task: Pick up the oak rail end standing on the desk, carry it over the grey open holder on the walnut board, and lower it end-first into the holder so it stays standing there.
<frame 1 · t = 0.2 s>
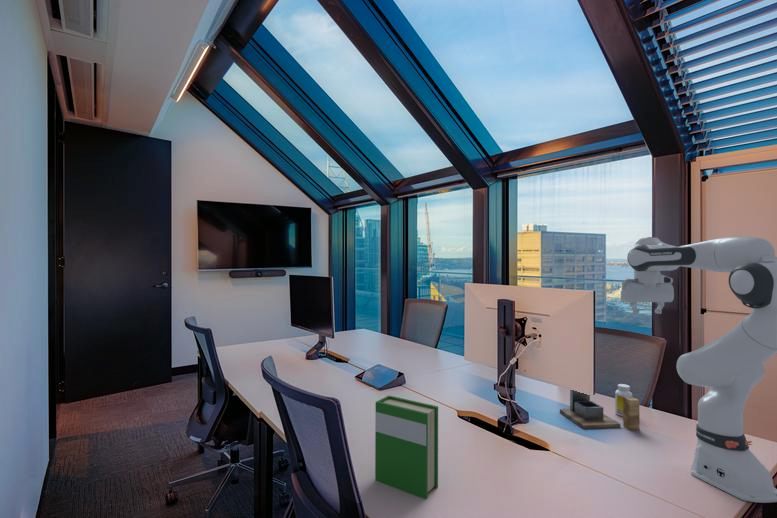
hand: (647, 313, 159), 47 cm above the table, tool pointing down, fingers open, 8 cm apart
walnut base board: (588, 419, 172), on the table
oak rail end: (631, 428, 163), on the table
supplement bottle: (623, 415, 178), on the table
hardback book: (406, 484, 121), on the table
grey open holder: (586, 398, 173), on the walnut base board, point 8 cm above the table
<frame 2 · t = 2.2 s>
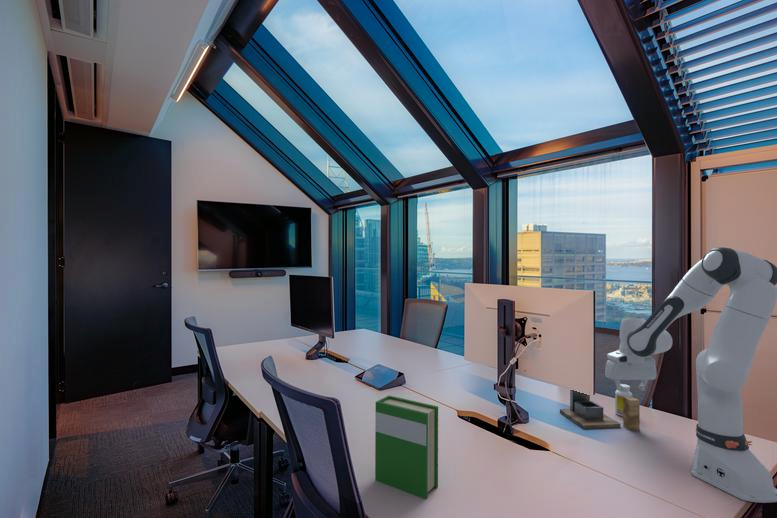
hand: (630, 390, 163), 15 cm above the table, tool pointing down, fingers open, 8 cm apart
nothing on the table moved.
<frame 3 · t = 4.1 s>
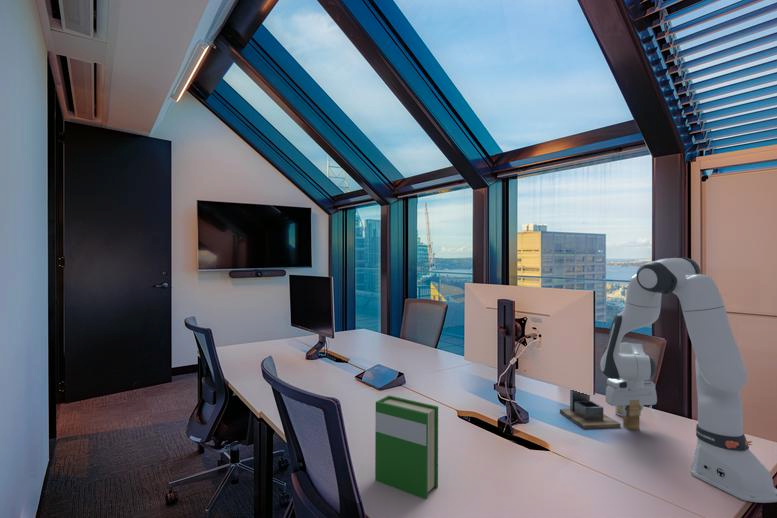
hand: (631, 415, 163), 5 cm above the table, tool pointing down, fingers closed on oak rail end, 4 cm apart
oak rail end: (631, 428, 163), on the table, touching gripper
everything else where it was.
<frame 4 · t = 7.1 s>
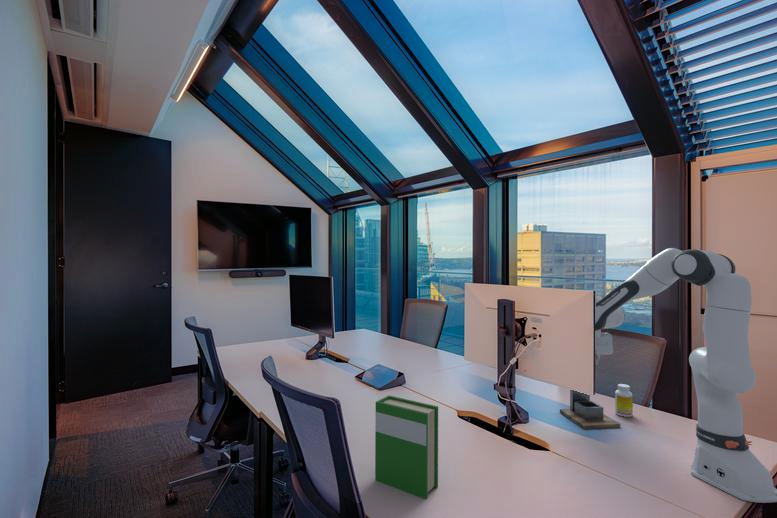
hand: (588, 364, 172), 23 cm above the table, tool pointing down, fingers closed on oak rail end, 4 cm apart
oak rail end: (588, 376, 172), point 18 cm above the table, touching gripper
everything else where it was.
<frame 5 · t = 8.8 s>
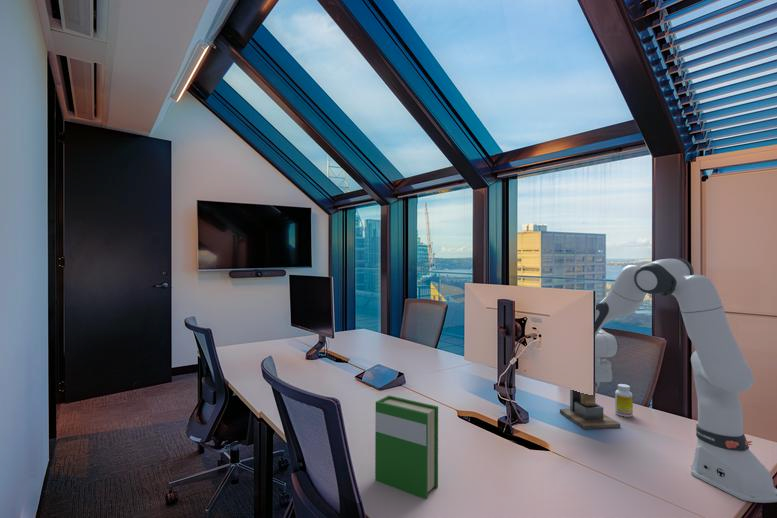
hand: (588, 392, 172), 12 cm above the table, tool pointing down, fingers closed on oak rail end, 4 cm apart
oak rail end: (587, 404, 172), point 7 cm above the table, touching gripper
everything else where it was.
when the fingers open (8 cm above the table, at t = 10.2 s): oak rail end drops 1 cm, resting on walnut base board.
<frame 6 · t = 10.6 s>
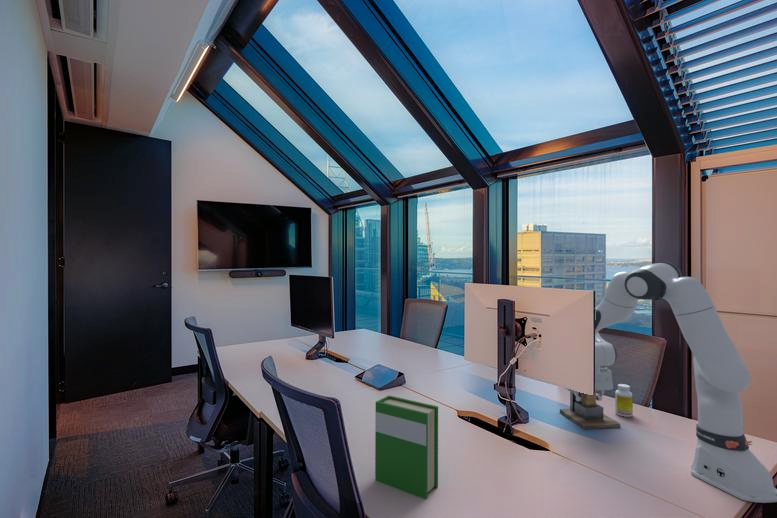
hand: (588, 400, 172), 8 cm above the table, tool pointing down, fingers open, 8 cm apart
oak rail end: (588, 416, 172), point 1 cm above the table, touching walnut base board
everything else where it was.
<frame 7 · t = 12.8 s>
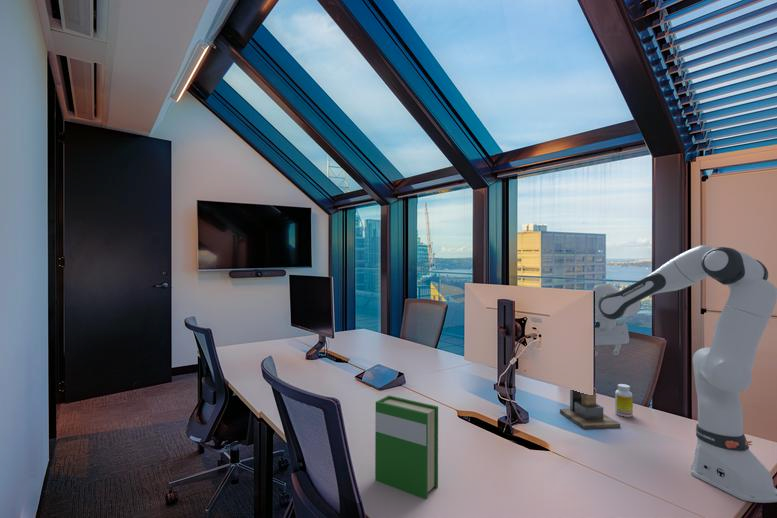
hand: (605, 355, 170), 28 cm above the table, tool pointing down, fingers open, 8 cm apart
nothing on the table moved.
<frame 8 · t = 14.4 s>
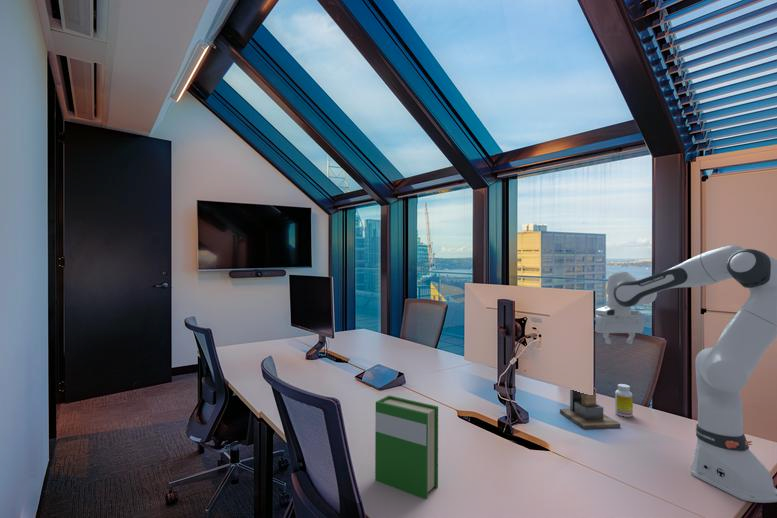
hand: (618, 343, 169), 33 cm above the table, tool pointing down, fingers open, 8 cm apart
nothing on the table moved.
at the end: oak rail end 0.0 cm off-centre on the grey open holder, point 1.5 cm above the grey open holder's base; oak rail end tilted 0°; the gripper is holding nothing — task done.
